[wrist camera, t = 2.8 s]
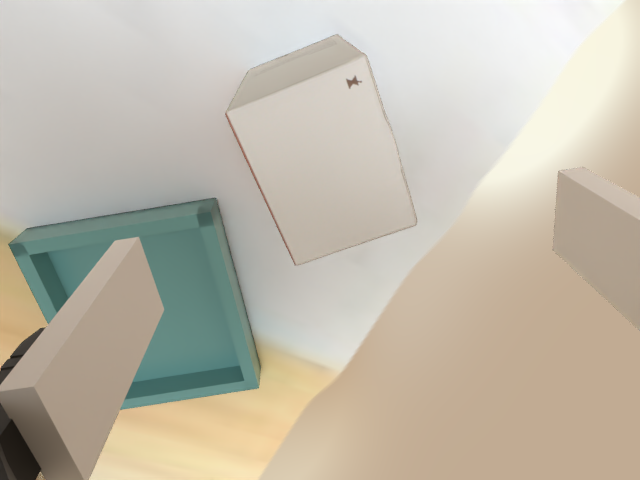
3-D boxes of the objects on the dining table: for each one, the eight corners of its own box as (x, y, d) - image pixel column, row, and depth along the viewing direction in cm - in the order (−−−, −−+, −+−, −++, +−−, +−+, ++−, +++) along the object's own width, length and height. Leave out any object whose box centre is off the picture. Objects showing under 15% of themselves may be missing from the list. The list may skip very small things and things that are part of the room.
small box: (246, 69, 31) (220, 109, 19) (338, 31, 30) (369, 49, 19) (293, 180, 34) (295, 270, 23) (376, 148, 34) (422, 225, 22)
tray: (103, 391, 42) (92, 414, 40) (27, 228, 35) (8, 244, 33) (260, 366, 42) (259, 388, 39) (215, 197, 35) (210, 211, 32)
